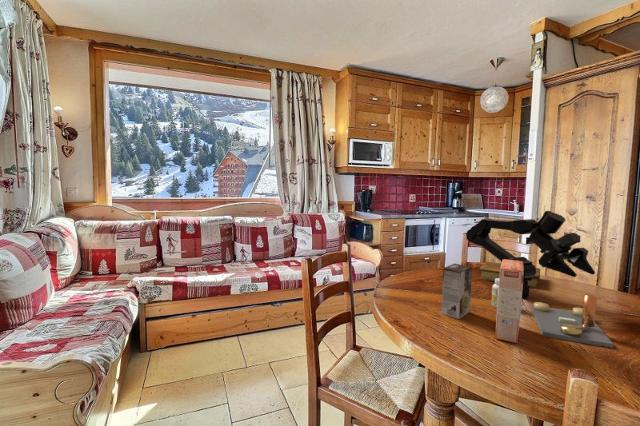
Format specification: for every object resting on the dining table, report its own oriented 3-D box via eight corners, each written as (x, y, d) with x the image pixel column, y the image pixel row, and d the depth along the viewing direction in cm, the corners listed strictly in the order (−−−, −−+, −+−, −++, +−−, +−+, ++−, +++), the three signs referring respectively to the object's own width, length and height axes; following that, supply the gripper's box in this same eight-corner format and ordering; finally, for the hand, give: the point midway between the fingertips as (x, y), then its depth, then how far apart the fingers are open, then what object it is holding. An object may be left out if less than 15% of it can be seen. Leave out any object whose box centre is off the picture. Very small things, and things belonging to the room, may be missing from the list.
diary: (539, 280, 155) (540, 268, 155) (537, 290, 140) (538, 277, 139) (485, 271, 168) (486, 260, 168) (478, 280, 153) (479, 268, 153)
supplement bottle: (509, 305, 120) (511, 279, 119) (505, 309, 116) (507, 282, 115) (493, 301, 124) (495, 276, 123) (489, 305, 120) (490, 279, 119)
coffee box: (452, 307, 118) (454, 263, 117) (470, 312, 114) (472, 266, 112) (440, 314, 112) (442, 267, 110) (459, 319, 107) (461, 271, 106)
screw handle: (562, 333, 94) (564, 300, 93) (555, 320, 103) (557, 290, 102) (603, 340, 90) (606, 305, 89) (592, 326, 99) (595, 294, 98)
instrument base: (542, 336, 96) (543, 326, 96) (531, 308, 117) (531, 300, 117) (613, 348, 89) (614, 338, 89) (587, 316, 111) (587, 308, 110)
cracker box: (519, 344, 91) (524, 270, 89) (494, 339, 94) (498, 267, 92) (519, 326, 102) (524, 260, 101) (498, 322, 106) (501, 258, 104)
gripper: (541, 227, 112) (582, 259, 100) (577, 225, 118) (620, 255, 107) (523, 251, 118) (560, 284, 107) (559, 248, 125) (597, 278, 113)
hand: (585, 274), depth 108 cm, fingers open, 9 cm apart
